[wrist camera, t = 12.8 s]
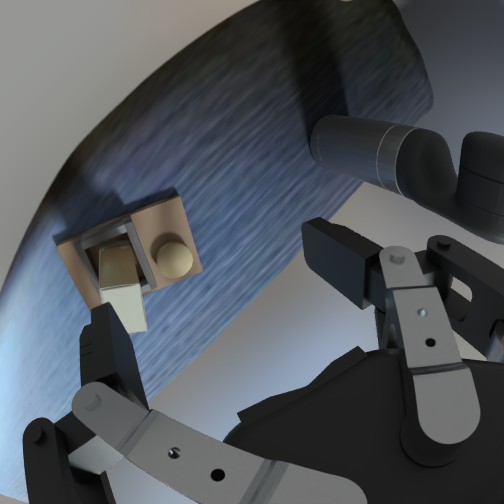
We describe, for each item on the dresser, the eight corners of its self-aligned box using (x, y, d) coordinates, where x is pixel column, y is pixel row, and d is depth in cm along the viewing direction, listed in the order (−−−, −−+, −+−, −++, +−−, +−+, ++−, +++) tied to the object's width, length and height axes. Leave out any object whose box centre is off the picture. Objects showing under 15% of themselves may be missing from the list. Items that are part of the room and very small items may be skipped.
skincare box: (135, 279, 41) (149, 334, 31) (105, 283, 39) (111, 340, 29) (129, 236, 38) (141, 283, 28) (98, 241, 36) (98, 289, 27)
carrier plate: (178, 194, 40) (184, 201, 37) (200, 267, 46) (208, 279, 43) (57, 243, 35) (53, 255, 32) (93, 311, 41) (93, 326, 38)
